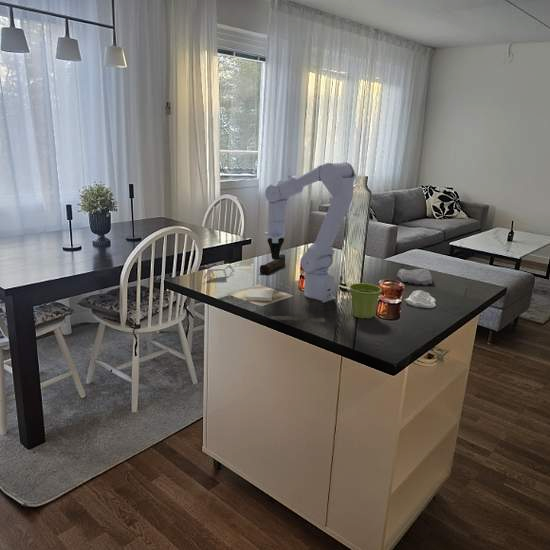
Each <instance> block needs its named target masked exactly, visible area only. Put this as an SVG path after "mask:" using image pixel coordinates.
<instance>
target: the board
mask: <svg viewBox="0 0 550 550" xmlns="http://www.w3.org/2000/svg"><path fill="white" fill-rule="evenodd" d="M249 289H265V290H273V296H272V301H253V300H246V295H247V292H248V290H249ZM226 295H228V296H231V297H234V298H236V299H239V300H241V301H245V302H248V303H251V304H254V305H256V306H259V307H263V306H266V305H270V304H273V303H276V302H279V301H282V300H285V299H288V298H291V297H294V295H292V294H289V293H287V292H283V291H280V290H278V289H277V290H276V289H274V288H272V287H271V288H270V287H268V286H264V285H262V284H256V285H252V286H248V287H246V288H242V289H239V290H235V291H232V292H227V293H226Z"/></svg>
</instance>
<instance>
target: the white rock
mask: <svg viewBox="0 0 550 550" xmlns="http://www.w3.org/2000/svg"><path fill="white" fill-rule="evenodd" d="M404 301H405V302H406V303H407V304H408V305H410V306H412V307H416V308H417V307H418V308H422V309H424V308H425V309H433V308H435V307H437V304H436V298H434V297H433V296H432V295H431V294H430V293H429V292H426V291H425V290H420V289H418V290H414V291H412V293H411V294H410V295H409V297H407V298H405V299H404Z"/></svg>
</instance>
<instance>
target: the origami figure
mask: <svg viewBox="0 0 550 550" xmlns="http://www.w3.org/2000/svg"><path fill="white" fill-rule="evenodd" d="M228 268H229V269H230V270H231V272H230V273H229V275H230V276H231V275H232V274H233V273H234V272H235V269H234V268H233V267H232V266H231V265H230V264H220V265H215V266H214V265H213V266H212V267H210V268H208V269H207V271H206V273H205V275H204V276H203V278H204V279H206V280H209V278H207V276H208V275H209V273H210V274H211V275H212V277H215V274H214V272H215V271H217V272H220V271H222V272H223V273H224V276H225V277H224V280H226V279H227V278H228V277H229V276H228V274H227V272H226V270H227V269H228Z"/></svg>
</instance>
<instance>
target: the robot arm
mask: <svg viewBox="0 0 550 550" xmlns="http://www.w3.org/2000/svg"><path fill="white" fill-rule="evenodd" d="M356 177H357V175H356V172H355V170H354V167H353V166H352V164H351V163H349V162H345V161H344V162H333V163H332V162H327V163H326V162H325V163H324V164H320V165H318V166H317V167H315V168H313V169H311V170H309V171H307V172H306V173H305V174H303V175H301V176H297V175H294V174H290V175H289V176H287V178H285V180H278V182H277V184H269V185H268V186H267V187H266V189H265V193H264V194H265V198H266V200H267V201H268V210H267V211H268V214H267V215H268V216H267V231H265V232H263V233H264V234H263V235H264V236H268V238H267V241H266V242H267V244H268V245H269V249H270V255H271V260H278V258H279V255H281V248H282V246H283V244H284V242H285V238H284V237H285V236H286V233H285V228H286V226H285V225H286V206H287V205H288V200H289V198H291V197H293V196H296V195H298V194H300V193H302V192H303V191H304V187H306V186H309V185H311V184H314V183H316V182H321V183H322V184H323V185H324V187H325V189H326V190H327V192H329V193H330V195H331V197H332V198H331V202H330V204H329V206H328V210H327V211H326V214H325V217H324V219H323V221H322V223H321V227H320V229H319V232H318V234H317V237H316V239H315V241H314V242H313V243H312V244H311V245H310V246H309V247H307V250H306V251H305V253H303V254H302V256H301V259H300V266H301V268H302V270H303V272H304V287H303V288H304V290H303V296H305V297H307V298H310V299H315V300H318V301H320V302H322V303H323V304H324V303H327V302H329V301H333V300H334V299H336V296H335V285H336V281H335V277H334V276H333V275H332V274H330V273H329V270H330V269H329V268H330V267H332V265H333V262H334V254H335V250H334V248H333V244H334V242H335V240H336V238H337V235H338V233H339V231H340V229H341V226H342V223H343V222H344V219H345V217H346V214H347V212H348V211H349V208H350V206H351V203H352V201H353V198H354V181H355V179H356Z"/></svg>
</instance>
